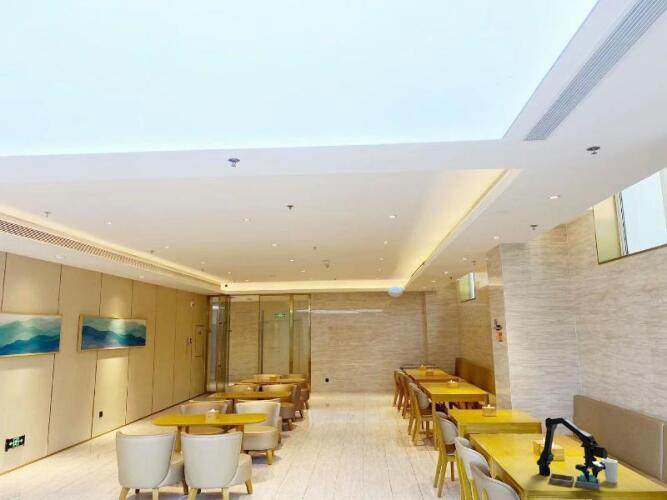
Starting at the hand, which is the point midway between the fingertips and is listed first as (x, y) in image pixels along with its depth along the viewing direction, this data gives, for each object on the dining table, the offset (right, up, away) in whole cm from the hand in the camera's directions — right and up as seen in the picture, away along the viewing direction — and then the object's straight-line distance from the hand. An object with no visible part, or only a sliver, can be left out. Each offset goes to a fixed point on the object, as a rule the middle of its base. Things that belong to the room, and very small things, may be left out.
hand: (591, 481), depth 296 cm
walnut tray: (-15, -5, +9) cm, 18 cm away
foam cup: (+19, -6, +11) cm, 23 cm away
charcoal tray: (-1, -4, +3) cm, 5 cm away
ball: (-2, -2, +7) cm, 7 cm away
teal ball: (0, +2, 0) cm, 2 cm away
